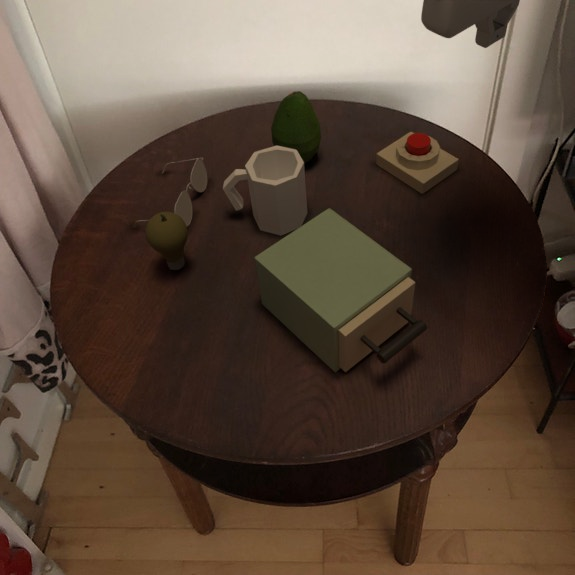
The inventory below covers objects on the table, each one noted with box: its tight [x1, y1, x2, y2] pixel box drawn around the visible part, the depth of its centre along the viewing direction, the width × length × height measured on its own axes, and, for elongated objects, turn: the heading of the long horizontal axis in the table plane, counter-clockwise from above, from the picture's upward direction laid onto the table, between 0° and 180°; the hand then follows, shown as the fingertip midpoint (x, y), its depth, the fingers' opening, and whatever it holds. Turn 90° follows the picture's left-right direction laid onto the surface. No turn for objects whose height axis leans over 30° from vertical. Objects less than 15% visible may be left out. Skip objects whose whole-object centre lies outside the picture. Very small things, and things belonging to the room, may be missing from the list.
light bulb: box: [145, 211, 189, 271], centre depth 86 cm, size 6×6×10 cm
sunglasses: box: [133, 157, 208, 229], centre depth 97 cm, size 14×8×5 cm, turn 167°
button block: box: [375, 131, 460, 195], centre depth 98 cm, size 10×8×4 cm
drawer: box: [338, 277, 428, 373], centre depth 77 cm, size 18×11×8 cm, turn 40°
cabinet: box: [253, 207, 413, 373], centre depth 79 cm, size 15×13×10 cm
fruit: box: [270, 90, 322, 164], centre depth 98 cm, size 8×8×12 cm
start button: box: [406, 132, 431, 156], centre depth 96 cm, size 4×4×2 cm
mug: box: [222, 145, 308, 237], centre depth 91 cm, size 12×9×10 cm
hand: (489, 41), depth 68 cm, fingers closed
